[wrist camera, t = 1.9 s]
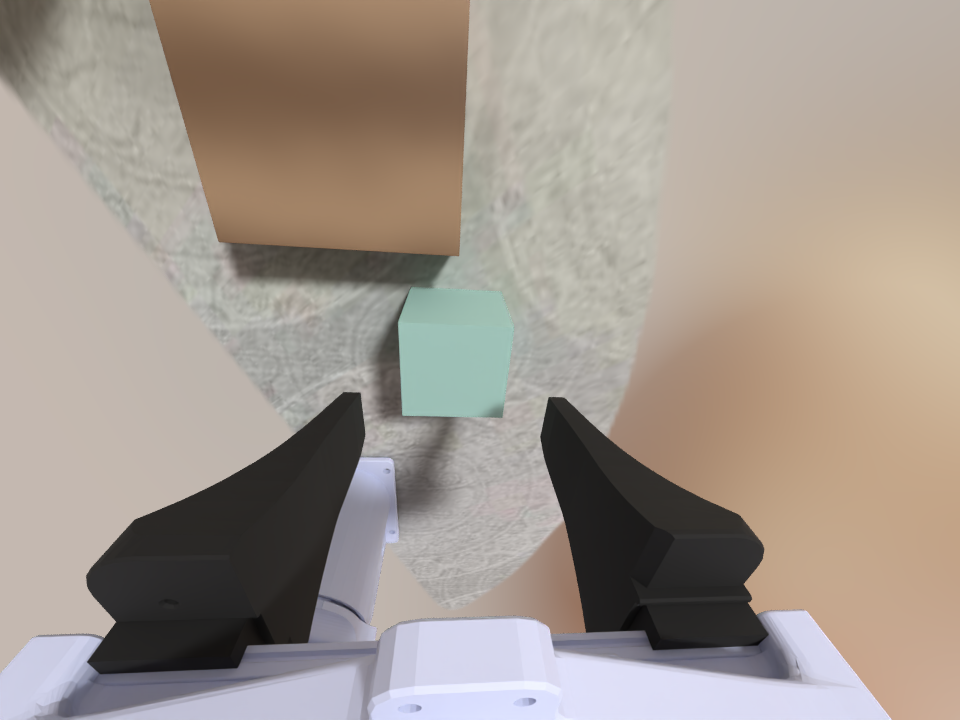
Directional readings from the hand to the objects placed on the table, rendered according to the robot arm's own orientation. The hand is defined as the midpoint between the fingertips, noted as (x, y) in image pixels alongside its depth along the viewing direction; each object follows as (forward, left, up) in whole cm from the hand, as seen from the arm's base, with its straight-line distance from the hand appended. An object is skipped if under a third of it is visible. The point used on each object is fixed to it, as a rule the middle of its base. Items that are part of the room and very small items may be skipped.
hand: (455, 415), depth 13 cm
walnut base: (+10, +5, -8) cm, 14 cm away
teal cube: (0, 0, -8) cm, 8 cm away
